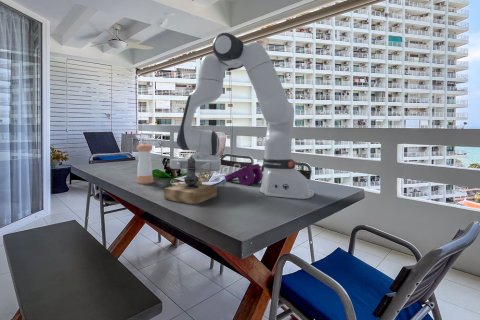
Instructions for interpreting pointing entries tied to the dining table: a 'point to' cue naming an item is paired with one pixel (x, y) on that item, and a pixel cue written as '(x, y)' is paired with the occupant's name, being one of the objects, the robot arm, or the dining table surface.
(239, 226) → the dining table surface
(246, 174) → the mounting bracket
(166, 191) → the stand
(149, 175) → the salt shaker
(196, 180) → the dark grey upright piece
